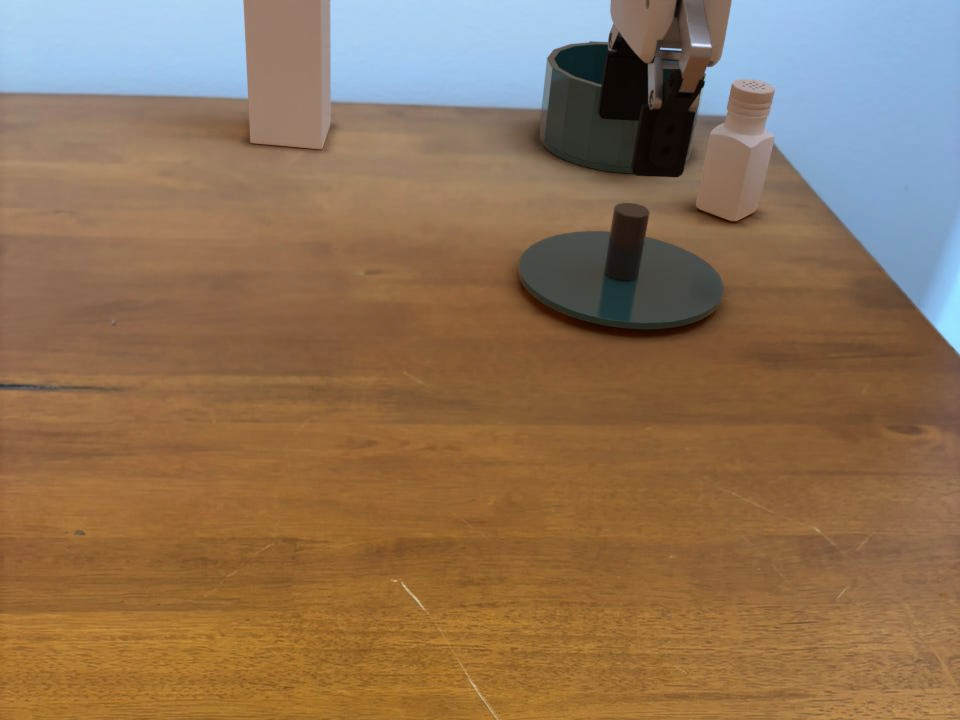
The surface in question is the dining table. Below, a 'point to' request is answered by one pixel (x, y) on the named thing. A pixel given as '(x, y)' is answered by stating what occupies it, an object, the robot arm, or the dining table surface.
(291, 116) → the milk
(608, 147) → the pot
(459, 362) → the dining table surface
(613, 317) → the lid
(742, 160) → the pepper shaker
